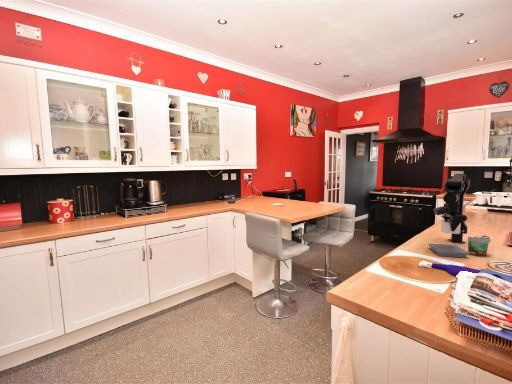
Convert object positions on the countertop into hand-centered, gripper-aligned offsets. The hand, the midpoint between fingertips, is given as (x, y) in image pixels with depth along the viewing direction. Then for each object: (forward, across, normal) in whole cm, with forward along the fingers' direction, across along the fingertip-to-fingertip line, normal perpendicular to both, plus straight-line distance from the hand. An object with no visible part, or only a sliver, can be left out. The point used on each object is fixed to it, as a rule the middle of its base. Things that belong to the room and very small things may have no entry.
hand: (450, 230), depth 141 cm
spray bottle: (+14, +29, -11) cm, 34 cm away
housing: (+1, 0, 0) cm, 1 cm away
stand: (+13, +1, -1) cm, 13 cm away
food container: (+13, 0, +15) cm, 20 cm away
